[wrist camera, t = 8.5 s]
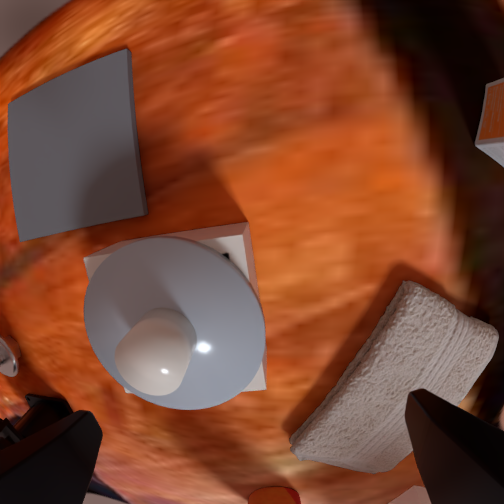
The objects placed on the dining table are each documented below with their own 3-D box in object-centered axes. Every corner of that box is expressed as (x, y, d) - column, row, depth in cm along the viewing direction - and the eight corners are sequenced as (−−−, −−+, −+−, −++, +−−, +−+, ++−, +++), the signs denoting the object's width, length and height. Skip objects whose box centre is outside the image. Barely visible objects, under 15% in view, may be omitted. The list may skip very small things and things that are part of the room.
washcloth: (281, 440, 24) (282, 464, 21) (399, 268, 21) (417, 282, 18) (379, 462, 25) (386, 483, 22) (489, 322, 21) (508, 337, 18)
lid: (122, 398, 18) (98, 437, 14) (73, 250, 16) (29, 269, 12) (276, 393, 17) (277, 441, 13) (249, 220, 15) (243, 234, 11)
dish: (149, 355, 22) (126, 392, 17) (120, 241, 20) (83, 257, 16) (266, 347, 22) (266, 389, 17) (248, 221, 20) (242, 234, 15)
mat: (25, 240, 21) (20, 242, 20) (14, 105, 18) (8, 103, 18) (148, 213, 20) (144, 215, 19) (131, 52, 18) (126, 48, 17)
